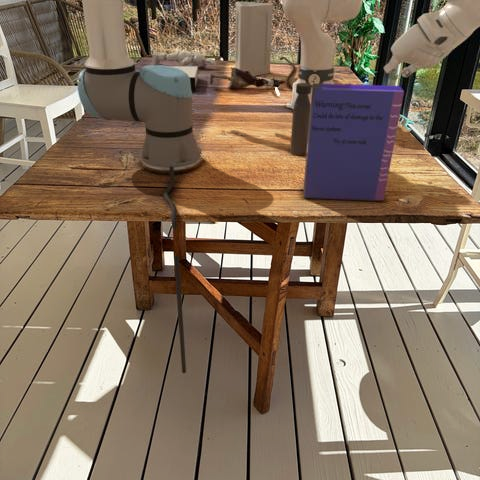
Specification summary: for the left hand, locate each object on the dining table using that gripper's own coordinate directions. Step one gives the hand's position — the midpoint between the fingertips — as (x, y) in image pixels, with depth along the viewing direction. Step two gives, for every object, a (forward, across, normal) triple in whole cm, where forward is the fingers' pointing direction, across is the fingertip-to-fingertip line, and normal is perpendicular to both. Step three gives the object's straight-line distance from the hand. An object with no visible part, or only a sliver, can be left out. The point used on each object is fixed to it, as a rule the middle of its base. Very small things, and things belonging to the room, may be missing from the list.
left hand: (174, 20), depth 152 cm
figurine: (+28, -18, -34) cm, 47 cm away
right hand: (+6, -67, +32) cm, 74 cm away
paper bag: (+28, -16, -63) cm, 71 cm away
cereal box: (+28, -57, +59) cm, 87 cm away
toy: (+28, +18, -67) cm, 75 cm away
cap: (+10, -45, +34) cm, 57 cm away
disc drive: (+28, +12, -33) cm, 45 cm away
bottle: (+28, -45, +34) cm, 63 cm away
